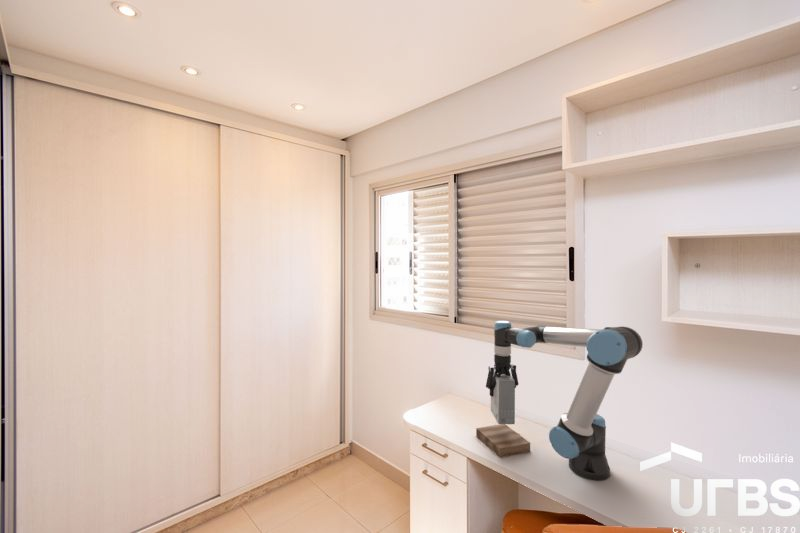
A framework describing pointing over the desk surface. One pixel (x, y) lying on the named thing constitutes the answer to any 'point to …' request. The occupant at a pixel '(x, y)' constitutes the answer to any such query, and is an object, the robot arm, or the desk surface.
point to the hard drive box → (504, 400)
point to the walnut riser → (503, 440)
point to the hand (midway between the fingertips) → (502, 401)
